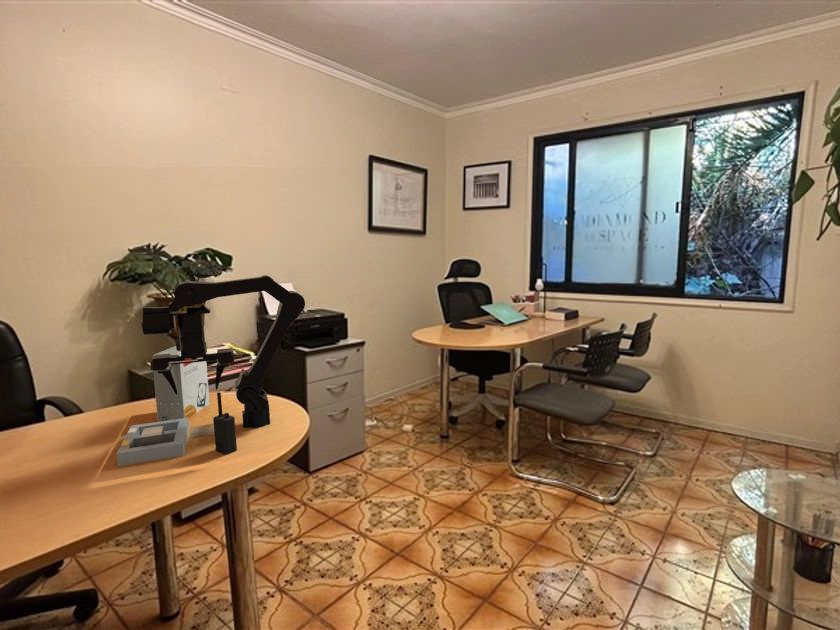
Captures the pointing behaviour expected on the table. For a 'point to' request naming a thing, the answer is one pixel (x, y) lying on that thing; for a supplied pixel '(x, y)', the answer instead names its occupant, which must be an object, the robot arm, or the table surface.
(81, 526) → the table surface
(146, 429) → the plug
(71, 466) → the table surface
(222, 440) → the walkie-talkie
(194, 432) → the brown flat square plate
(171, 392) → the hard drive box
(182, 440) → the dock
